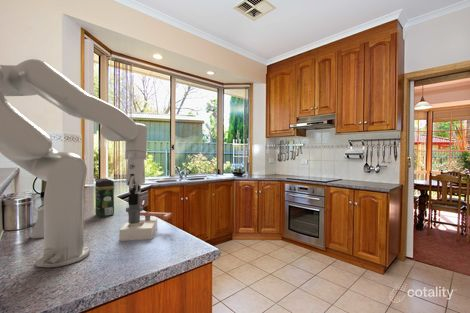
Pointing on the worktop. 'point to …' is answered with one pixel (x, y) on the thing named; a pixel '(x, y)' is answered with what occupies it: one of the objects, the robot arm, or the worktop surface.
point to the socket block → (139, 229)
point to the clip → (156, 214)
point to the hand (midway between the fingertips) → (134, 202)
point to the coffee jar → (104, 197)
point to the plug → (134, 211)
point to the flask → (38, 226)
